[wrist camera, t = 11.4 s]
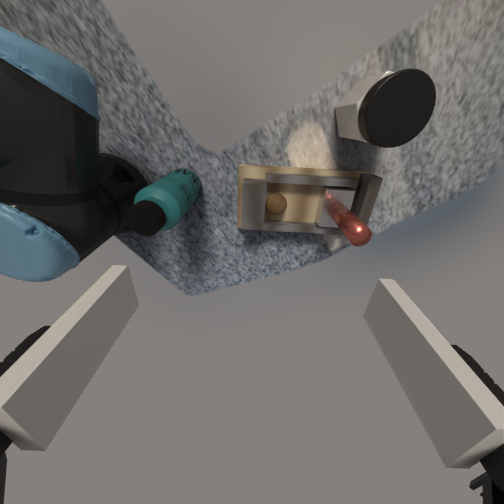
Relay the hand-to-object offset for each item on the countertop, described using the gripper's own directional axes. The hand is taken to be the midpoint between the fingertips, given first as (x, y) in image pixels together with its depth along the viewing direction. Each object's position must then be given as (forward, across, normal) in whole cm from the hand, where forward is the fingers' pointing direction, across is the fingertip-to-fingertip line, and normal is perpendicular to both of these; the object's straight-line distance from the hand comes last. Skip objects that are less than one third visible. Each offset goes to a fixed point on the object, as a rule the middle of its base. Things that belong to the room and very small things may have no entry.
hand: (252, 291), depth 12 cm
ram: (+33, +15, -5) cm, 36 cm away
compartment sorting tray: (+35, +9, -5) cm, 36 cm away
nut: (+33, +5, -5) cm, 33 cm away
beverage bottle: (+35, -13, -3) cm, 37 cm away
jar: (+35, +17, +10) cm, 40 cm away
